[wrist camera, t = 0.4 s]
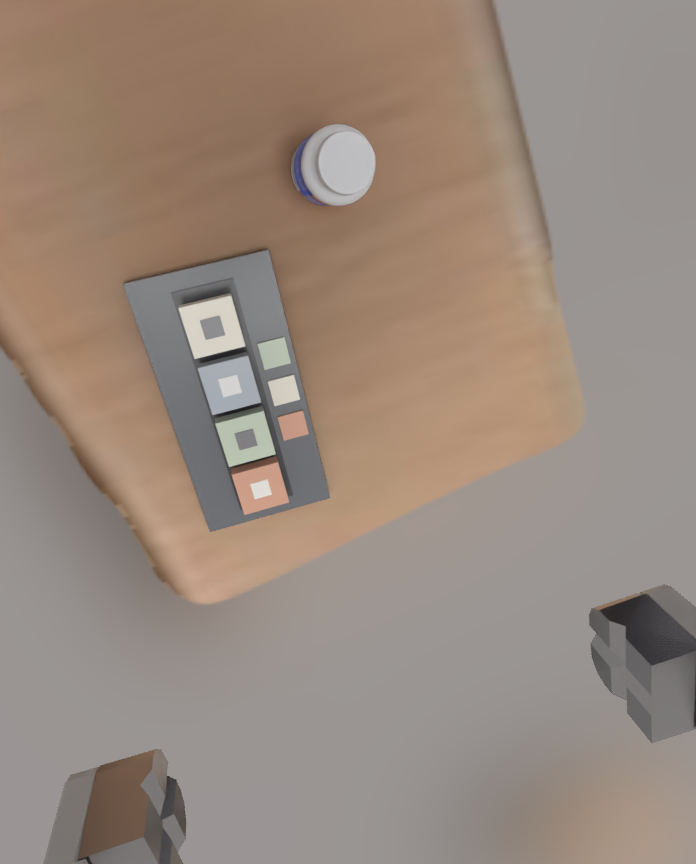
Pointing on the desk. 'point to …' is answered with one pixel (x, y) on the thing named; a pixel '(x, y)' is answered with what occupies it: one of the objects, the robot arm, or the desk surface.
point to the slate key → (229, 383)
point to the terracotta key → (260, 485)
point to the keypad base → (263, 343)
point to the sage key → (245, 436)
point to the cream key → (212, 325)
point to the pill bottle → (333, 166)
